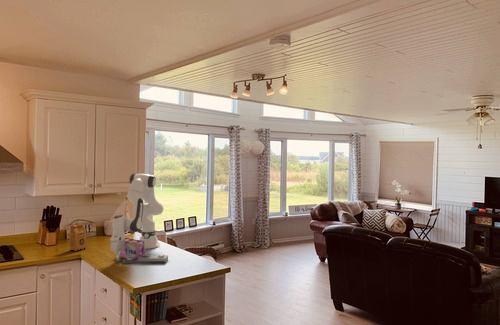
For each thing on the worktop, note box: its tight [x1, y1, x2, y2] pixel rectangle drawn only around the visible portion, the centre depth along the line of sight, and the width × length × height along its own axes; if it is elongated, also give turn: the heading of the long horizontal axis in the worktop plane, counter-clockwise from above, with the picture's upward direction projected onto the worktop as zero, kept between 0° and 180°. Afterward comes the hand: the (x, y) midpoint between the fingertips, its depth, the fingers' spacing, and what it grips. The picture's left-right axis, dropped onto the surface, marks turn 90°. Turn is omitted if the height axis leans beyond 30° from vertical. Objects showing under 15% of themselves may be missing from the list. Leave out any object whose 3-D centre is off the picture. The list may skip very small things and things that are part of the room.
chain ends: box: [121, 254, 169, 265], centre depth 276 cm, size 9×32×5 cm, turn 89°
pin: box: [116, 249, 122, 262], centre depth 279 cm, size 4×4×10 cm
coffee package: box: [69, 223, 87, 252], centre depth 316 cm, size 10×12×22 cm
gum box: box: [121, 237, 146, 259], centre depth 290 cm, size 24×8×14 cm, turn 56°
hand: (118, 254), depth 279 cm, fingers closed on pin, 3 cm apart
